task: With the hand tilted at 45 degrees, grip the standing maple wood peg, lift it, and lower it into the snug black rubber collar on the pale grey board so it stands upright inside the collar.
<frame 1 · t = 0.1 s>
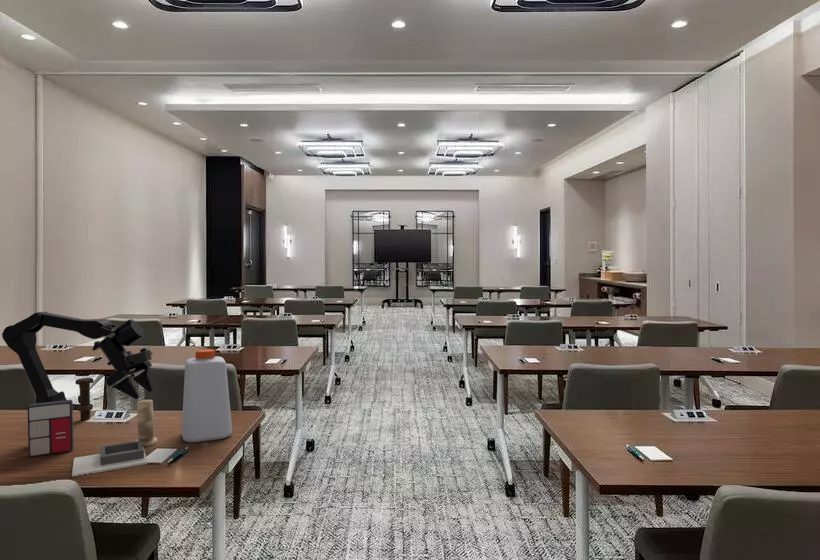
hand: (144, 394, 171), 15 cm above the table, tool tilted 35°, fingers open, 9 cm apart
bolt: (85, 420, 198), on the table
calculator: (51, 453, 162), on the table
plastic bottle: (207, 435, 177), on the table
collar board: (110, 461, 153), on the table
peg: (145, 443, 169), on the table
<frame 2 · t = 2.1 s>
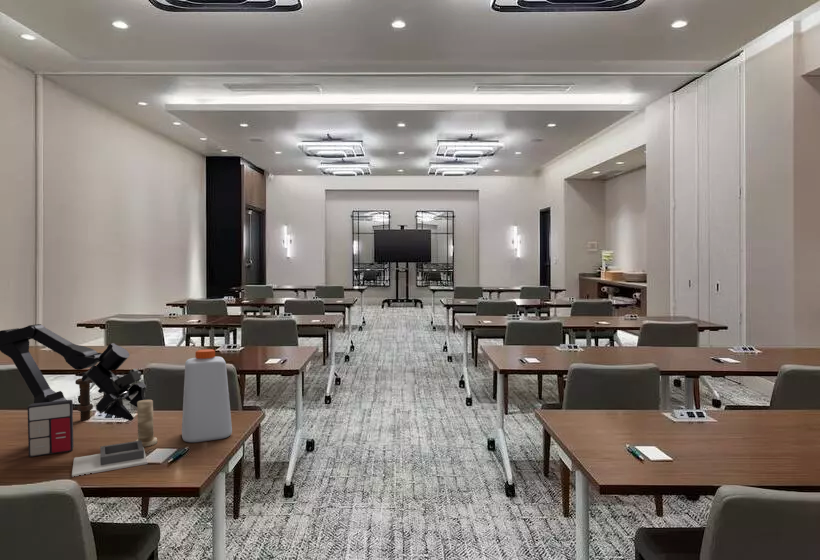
hand: (141, 415, 169), 9 cm above the table, tool tilted 45°, fingers open, 9 cm apart
nothing on the table moved.
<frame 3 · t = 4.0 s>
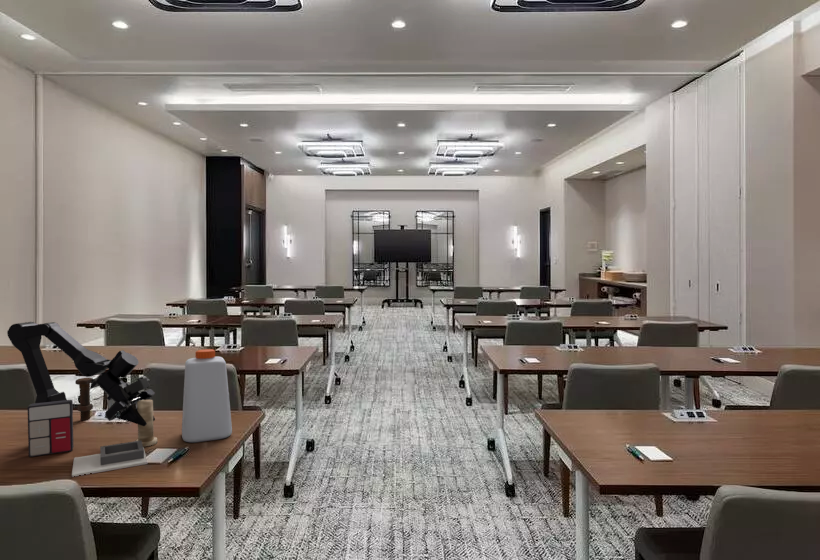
hand: (149, 422, 169), 7 cm above the table, tool tilted 45°, fingers closed on peg, 4 cm apart
peg: (146, 443, 169), on the table, touching gripper
everything else where it was.
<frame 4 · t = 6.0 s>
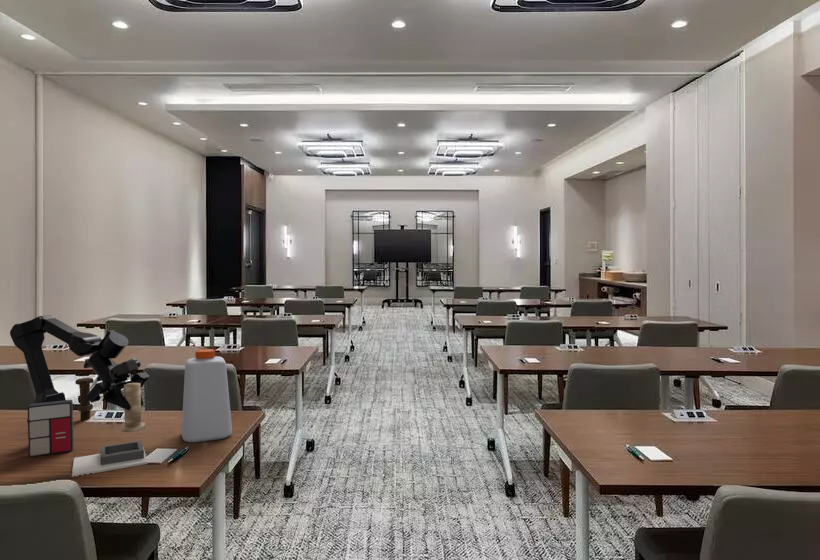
hand: (136, 407, 160), 14 cm above the table, tool tilted 45°, fingers closed on peg, 4 cm apart
peg: (133, 428, 161), point 7 cm above the table, touching gripper
everything else where it was.
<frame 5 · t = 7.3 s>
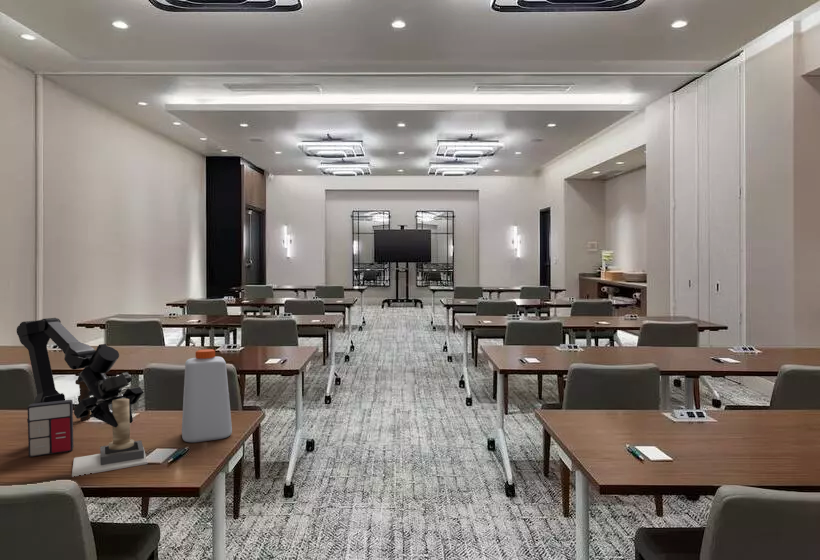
hand: (124, 424, 155), 10 cm above the table, tool tilted 45°, fingers closed on peg, 4 cm apart
peg: (121, 446, 156), point 3 cm above the table, touching gripper
everything else where it was.
when the fingers open (8 cm above the table, at t = 8.4 s): peg drops 1 cm, resting on collar board.
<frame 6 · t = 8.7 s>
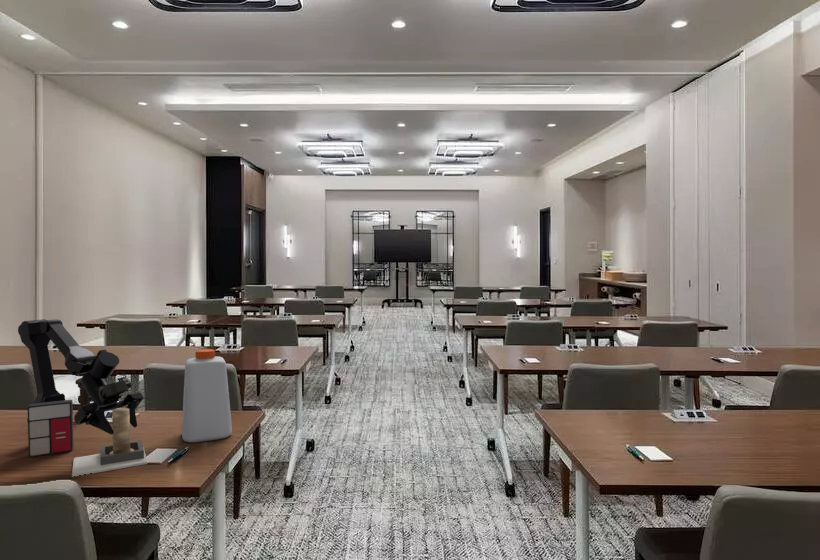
hand: (124, 430, 155), 8 cm above the table, tool tilted 45°, fingers open, 7 cm apart
peg: (121, 455, 156), point 1 cm above the table, touching collar board
everything else where it was.
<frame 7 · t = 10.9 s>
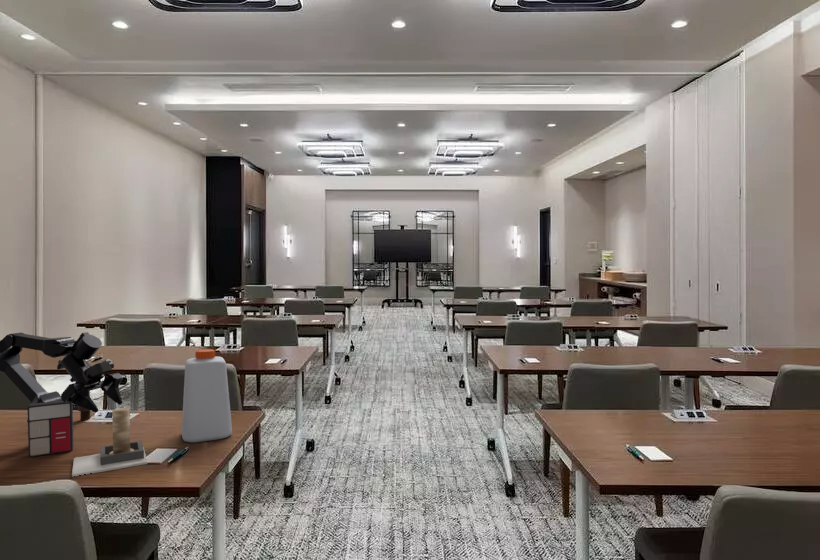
hand: (109, 407, 164), 13 cm above the table, tool tilted 45°, fingers open, 9 cm apart
nothing on the table moved.
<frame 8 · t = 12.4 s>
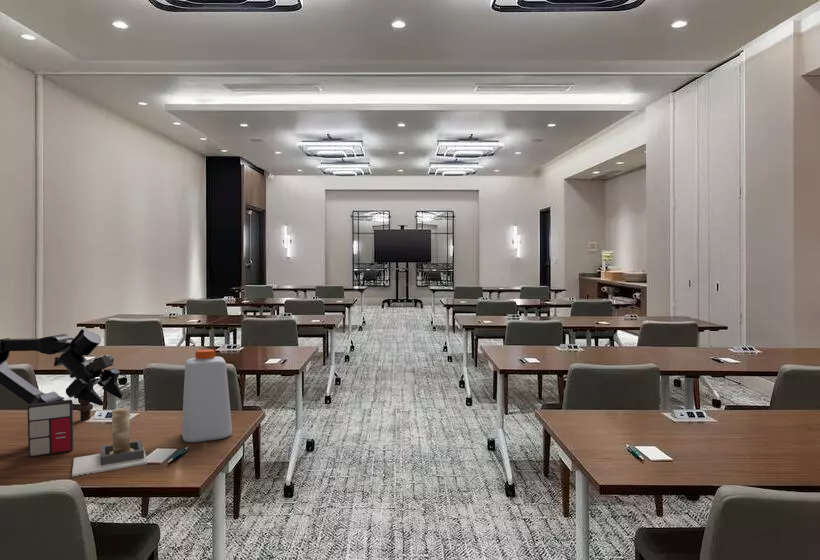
hand: (112, 401, 169), 14 cm above the table, tool tilted 45°, fingers open, 9 cm apart
nothing on the table moved.
at the end: peg 0.0 cm from the target spot, point 0.6 cm above the table; peg tilted 0°; the gripper is holding nothing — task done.
